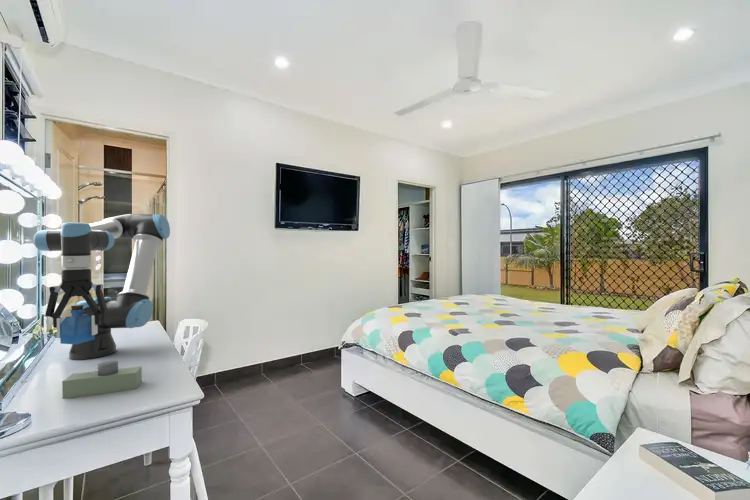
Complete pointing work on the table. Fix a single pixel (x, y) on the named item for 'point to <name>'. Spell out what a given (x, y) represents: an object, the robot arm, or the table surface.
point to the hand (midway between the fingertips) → (77, 335)
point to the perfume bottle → (76, 327)
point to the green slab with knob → (102, 380)
